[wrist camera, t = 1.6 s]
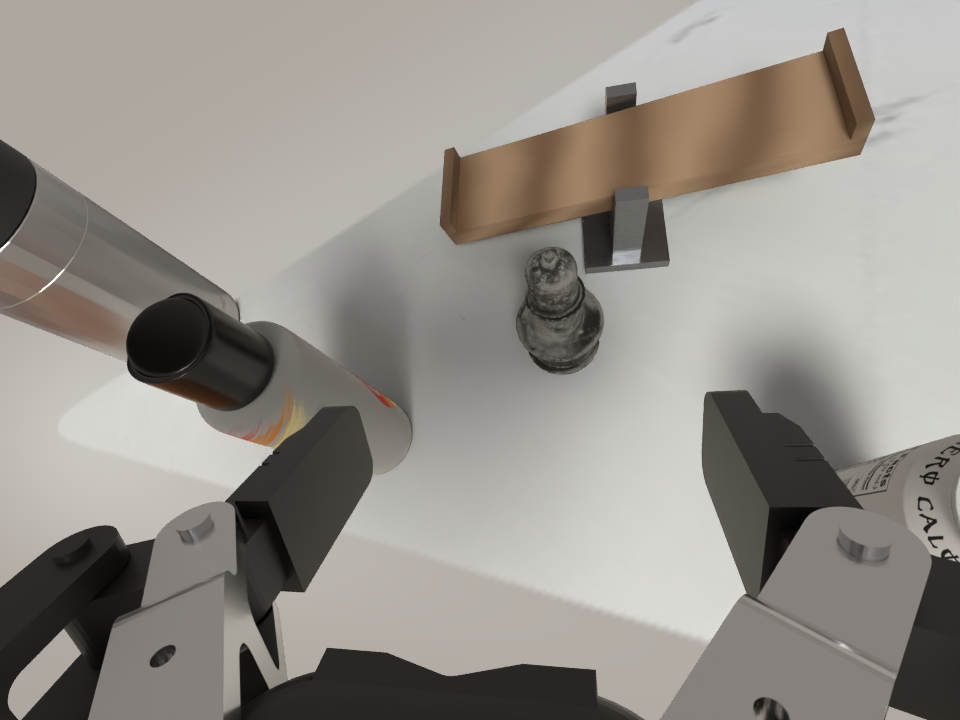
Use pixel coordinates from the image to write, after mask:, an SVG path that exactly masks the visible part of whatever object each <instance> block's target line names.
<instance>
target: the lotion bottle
mask: <svg viewBox="0 0 960 720" xmlns="http://www.w3.org/2000/svg"><path fill="white" fill-rule="evenodd" d="M126 352H127V367H128V371H129V373H130V374H131V375H132V376H133V377H134V378H135V379H136V380H138V381H140V382H143V383H145V384H148V385H150V386H153V387H156V388H158V389H161V390H164V391H166V392H169V393H172V394H174V395H177V396H180V397H183V398H185V399H188V400H191V401H193V402H196V404H197V407H198V410H199V412H200V414H201V416H202V417H203V419H204V420H205V421H206V422H207V423H208V424H209V425H210V426H211V427H213V428H214V429H216V430H218V431H220V432H222V433H225V434H228V435H231V436H234V437H237V438H240V439H244V440H247V441H250V442H254V443H257V444H261V445H264V446H268V447H271V448H274V449H276V448H277V447H278V446H279V445H280V444H281V443H282V442H283V441H284V440H285V439H286V438H287V437H289V436H290V435H292V434H294V433H295V432H297V431H298V430H300V429H301V428H303V427H304V426H305V425H306V424H307V423H308V422H309V421H310V420H311V419H312V418H313V417H314V416H315V415H316V414H317V412H318V411H319V410H320V409H321V408H323V407H328V406H355V407H356V408H357V409H358V411H359V413H360V416H361V420H362V423H363V427H364V430H365V434H366V437H367V441H368V445H369V448H370V452H371V455H372V460H373V473H372V475H377V474H382V473H385V472H387V471H389V470H391V469H393V468H394V467H396V466H397V465H398V464H399V463H400V462H401V461H402V460H403V458H404V457H405V455H406V454H407V452H408V450H409V447H410V444H411V438H412V429H411V424H410V421H409V419H408V417H407V415H406V414H405V412H404V411H403V410H402V409H401V408H400V407H399V406H398V405H397V404H395V403H394V402H393V401H391V400H390V399H388V398H387V397H386V396H384V395H383V394H381V393H380V392H378V391H377V390H375V389H374V388H373V387H371V386H370V385H368V384H367V383H365V382H364V381H362V380H361V379H360V378H358V377H357V376H355V375H354V374H352V373H351V372H349V371H348V370H347V369H345V368H344V367H342V366H341V365H339V364H338V363H336V362H335V361H334V360H332V359H331V358H329V357H328V356H326V355H325V354H323V353H322V352H321V351H319V350H318V349H316V348H315V347H313V346H312V345H310V344H309V343H308V342H306V341H305V340H303V339H302V338H300V337H299V336H297V335H296V334H294V333H293V332H291V331H290V330H288V329H286V328H285V327H283V326H280V325H278V324H275V323H272V322H265V321H258V322H251V323H247V324H243V323H242V322H240V321H238V320H237V319H235V318H233V317H232V316H230V315H228V314H227V313H225V312H223V311H222V310H220V309H218V308H217V307H215V306H213V305H211V304H210V303H208V302H206V301H205V300H203V299H201V298H200V297H198V296H196V295H193V294H190V293H177V294H174V295H171V296H169V297H168V298H166V299H165V300H161V301H159V302H156V303H154V304H152V305H150V306H149V307H147V308H146V309H145V310H143V311H142V312H141V313H140V314H139V315H138V316H137V317H136V319H135V320H134V322H133V323H132V325H131V327H130V329H129V331H128V334H127V339H126Z"/></svg>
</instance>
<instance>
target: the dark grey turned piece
mask: <svg viewBox="0 0 960 720" xmlns="http://www.w3.org/2000/svg"><path fill="white" fill-rule="evenodd" d="M525 277H526V281H527V285H528V286H527V289H526V292H525V300H524V302H523V304H522V305H521V307H520V309H519V312H518V315H517V318H516V329H517V333H518V336H519V339H520V341H521V342H522V344H523V345H524V347H525V348H526V349H527V350H528V351H529V354H530V356H531V358H532V359H533V361H534V363H536V364H537V365H538V366H539V367H540V368H541V369H543V370H545V371H547V372H549V373H554V374H570V373H574V372H577V371H579V370H581V369H582V368H584V367H586V366H587V365H588V364H589V363H590V362H591V361H592V360H593V358H594V356H595V354H596V353H597V349H598V345H599V338H600V336H601V334H602V330H603V325H604V318H603V311H602V308H601V306H600V303H599V302H598V300H597V299H596V298H595V296H594V295H593V294H592V293H590V292H589V291H588V290H586V289H585V287H584V284H583V282H582V280H581V279H580V278H579V276H578V275H577V265H576V262H575V259H574V258H573V256H572V255H571V254H570V253H569V252H568V251H566V250H564V249H562V248H557V247H549V248H545V249H542V250H540V251H538V252H536V253H535V254H534V255H533V256H532V257H531V258H530V259H529V261H528V262H527V265H526V269H525Z"/></svg>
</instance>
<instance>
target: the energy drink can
mask: <svg viewBox="0 0 960 720" xmlns="http://www.w3.org/2000/svg"><path fill="white" fill-rule="evenodd" d="M835 472H836V474H837V475H838V476H839V478H840V479H841V480H842V482H843V483H844V484H845V485H846V487H847V488H848V489H849V491H850V492H851V493H852V494H853V496H854V497H855V498H856V500H857V501H858V502H859V504H860V505H861V506H862V507H863V509H864V510H866V511H870V512H873V513H876V514H879V515H882V516H884V517H887V518H889V519H891V520H893V521H895V522H897V523H899V524H900V525H902V526H904V527H905V528H907V529H908V530H910V531H911V532H912V533H914V534H915V535H916V536H917V537H918V538H919V539H920V540H921V541H922V542H923V543H924V545H925V546H926V547H927V549H928V551H929V553H930V554H932V555H935V556H938V557H941V558H945V559H949V560H953V561H957V562H960V434H959V435H953V436H950V437H947V438H943V439H940V440H937V441H933V442H930V443H926V444H923V445H920V446H916V447H913V448H910V449H906V450H903V451H900V452H896V453H893V454H890V455H886V456H883V457H880V458H876V459H873V460H869V461H866V462H863V463H859V464H856V465H853V466H849V467H846V468H843V469H839V470H836V471H835Z"/></svg>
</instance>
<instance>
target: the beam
mask: <svg viewBox="0 0 960 720" xmlns="http://www.w3.org/2000/svg"><path fill="white" fill-rule="evenodd" d="M874 121H875V117H874V115H873V112H872V109H871V106H870V103H869V100H868V97H867V94H866V91H865V88H864V85H863V82H862V79H861V77H860V74H859V71H858V68H857V65H856V62H855V59H854V56H853V53H852V50H851V47H850V44H849V42H848V39H847V36H846V33H845V30H844V28H842V29H838V30H835V31H832V32H829V33H827V37H826V41H825V44H824V48H823V51H821V52H817V53H814V54H810V55H807V56H804V57H800V58H797V59H793V60H790V61H787V62H783V63H780V64H777V65H773V66H770V67H766V68H763V69H760V70H756V71H753V72H750V73H746V74H743V75H739V76H736V77H733V78H729V79H726V80H722V81H719V82H716V83H712V84H709V85H706V86H702V87H699V88H695V89H692V90H689V91H685V92H682V93H679V94H675V95H672V96H668V97H665V98H662V99H658V100H655V101H651V102H648V103H645V104H641V105H638V106H635V107H631V108H628V109H624V110H621V111H618V112H614V113H611V114H608V115H604V116H601V117H597V118H594V119H591V120H587V121H584V122H580V123H577V124H574V125H570V126H567V127H564V128H560V129H557V130H553V131H550V132H547V133H543V134H540V135H537V136H533V137H530V138H526V139H523V140H520V141H516V142H513V143H509V144H506V145H503V146H499V147H496V148H493V149H489V150H486V151H482V152H479V153H476V154H472V155H469V156H466V157H462V158H460V156H459V155H458V153H457V152H456V150H455V148H454V147H453V148H450V149H447V150H445V156H444V170H443V185H442V201H441V216H440V226H441V227H442V228H443V230H444V231H445V232H446V233H447V235H448V236H449V237H450V238H451V240H452V241H453V242H454V243H455V245H458V244H462V243H467V242H471V241H475V240H480V239H484V238H489V237H493V236H498V235H502V234H507V233H511V232H516V231H520V230H525V229H529V228H534V227H538V226H543V225H547V224H552V223H556V222H561V221H565V220H570V219H574V218H579V217H583V216H588V215H592V214H597V213H601V212H606V211H610V210H614V194H615V189H623V188H631V187H639V186H647V185H648V192H649V202H650V201H655V200H659V199H664V198H668V197H673V196H677V195H682V194H686V193H691V192H695V191H700V190H704V189H709V188H713V187H718V186H722V185H727V184H731V183H736V182H740V181H745V180H749V179H754V178H758V177H763V176H767V175H772V174H776V173H781V172H785V171H790V170H794V169H799V168H803V167H807V166H812V165H816V164H821V163H825V162H830V161H834V160H839V159H843V158H848V157H852V156H857V155H860V154H861V152H862V149H863V147H864V145H865V142H866V140H867V137H868V135H869V133H870V130H871V128H872V126H873V123H874Z"/></svg>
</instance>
